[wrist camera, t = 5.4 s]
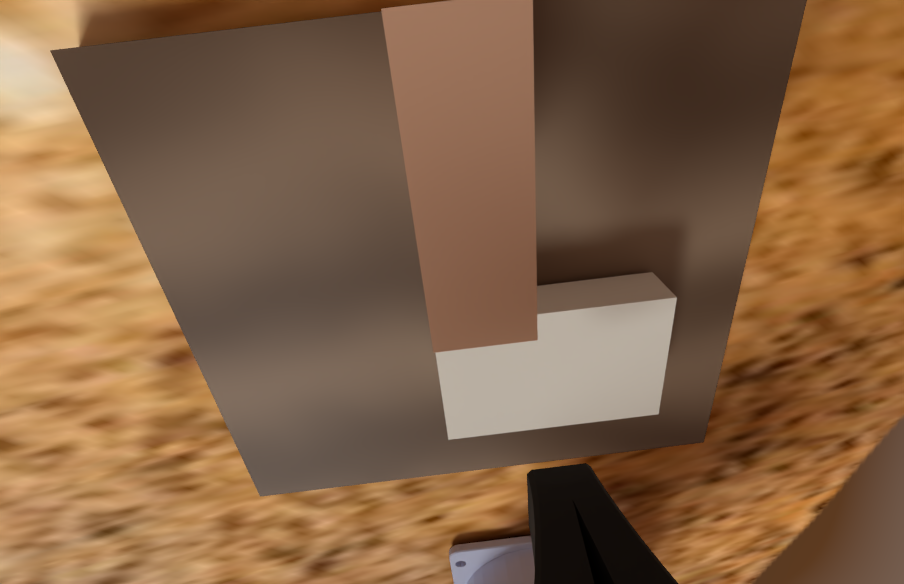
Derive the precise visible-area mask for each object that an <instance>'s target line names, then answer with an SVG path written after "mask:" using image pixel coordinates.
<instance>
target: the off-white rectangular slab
mask: <svg viewBox="0 0 904 584" xmlns="http://www.w3.org/2000/svg"><path fill="white" fill-rule="evenodd" d="M676 301H677V297H676V296H675V295H674V294H673V293H672V292H671V291H670V290H669V289H668V288H667V287H666V286H665V285H664V284H663V283H662V281H661V280H660V279H659V278H658V277H657V276H656V275H655V274H654V273H653V272H648V273H640V274H632V275H623V276H615V277H607V278H599V279H590V280H582V281H574V282H565V283H557V284H549V285H541V286H537V331H538V340H535V341H527V342H519V343H511V344H502V345H494V346H486V347H477V348H469V349H461V350H453V351H444V352H436V360H437V367H438V373H439V380H440V387H441V393H442V400H443V407H444V413H445V420H446V427H447V433H448V440H451V439H460V438H468V437H476V436H484V435H493V434H501V433H509V432H517V431H525V430H534V429H542V428H550V427H558V426H566V425H575V424H583V423H591V422H599V421H608V420H616V419H624V418H632V417H640V416H649V415H657V414H659V408H660V402H661V395H662V389H663V383H664V377H665V370H666V364H667V358H668V351H669V345H670V339H671V332H672V326H673V320H674V314H675V307H676Z"/></svg>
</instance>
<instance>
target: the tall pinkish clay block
mask: <svg viewBox="0 0 904 584" xmlns="http://www.w3.org/2000/svg"><path fill="white" fill-rule="evenodd" d="M381 12H382V18H383V25H384V32H385V38H386V45H387V51H388V58H389V64H390V71H391V78H392V84H393V91H394V97H395V104H396V110H397V117H398V124H399V130H400V137H401V143H402V150H403V156H404V163H405V170H406V176H407V183H408V189H409V196H410V202H411V209H412V215H413V222H414V229H415V235H416V242H417V248H418V255H419V261H420V268H421V275H422V281H423V288H424V294H425V301H426V307H427V314H428V321H429V327H430V334H431V340H432V347H433V353H436V352H444V351H453V350H461V349H469V348H477V347H486V346H494V345H502V344H511V343H519V342H527V341H535V340H538V331H537V259H536V188H535V117H534V45H533V0H450V1H441V2H433V3H424V4H416V5H407V6H399V7H390V8H382V9H381Z"/></svg>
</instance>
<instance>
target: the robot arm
mask: <svg viewBox="0 0 904 584" xmlns="http://www.w3.org/2000/svg"><path fill="white" fill-rule="evenodd" d="M527 485H528V514H529V528H530V534H531V536H523V537H515V538H507V539H498V540H490V541H482V542H474V543H466V544H458V545H454V546H453V547H451V548H450V550H449V559H450V564H451V570H452V576H453V581H454V584H678V583H677V581H676V580H675V579H674V578H673V577H672V576H671V574H670V573H669V572H668V571H667V570H666V568H665V567H664V566H663V565H662V564H661V562H660V561H659V560H658V559H657V557H656V556H655V555H654V554H653V552H652V551H651V550H650V549H649V547H648V546H647V545H646V544H645V542H644V541H643V540H642V539H641V537H640V536H639V535H638V533H637V532H636V531H635V530H634V528H633V527H632V526H631V524H630V523H629V522H628V520H627V519H626V518H625V516H624V515H623V513H622V512H621V511H620V509H619V508H618V507H617V505H616V504H615V502H614V501H613V500H612V498H611V497H610V495H609V494H608V492H607V491H606V490H605V488H604V487H603V485H602V484H601V482H600V481H599V479H598V478H597V476H596V474H595V473H594V471H593V470H592V468H591V466H589V465H588V464H586V463H585V464H577V465H568V466H560V467H552V468H544V469H536V470H531V471H530V472H529V473H528V474H527Z"/></svg>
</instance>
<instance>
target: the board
mask: <svg viewBox="0 0 904 584" xmlns="http://www.w3.org/2000/svg"><path fill="white" fill-rule="evenodd" d="M806 1H807V0H533V45H534V117H535V188H536V259H537V286H541V285H549V284H557V283H565V282H574V281H582V280H590V279H599V278H607V277H615V276H623V275H632V274H640V273H648V272H653V273H654V274H655V275H656V276H657V277H658V278H659V279H660V280H661V281H662V283H663V284H664V285H665V286H666V287H667V288H668V289H669V290H670V291H671V292H672V293H673V294H674V295H675V296H676V297H677V301H676V307H675V314H674V320H673V326H672V332H671V339H670V345H669V351H668V358H667V364H666V370H665V377H664V383H663V389H662V395H661V402H660V408H659V414H657V415H649V416H640V417H632V418H624V419H616V420H608V421H599V422H591V423H583V424H575V425H566V426H558V427H550V428H542V429H534V430H525V431H517V432H509V433H501V434H493V435H484V436H476V437H468V438H460V439H451V440H448V433H447V427H446V420H445V413H444V407H443V400H442V393H441V387H440V380H439V373H438V367H437V360H436V353H433V347H432V340H431V334H430V327H429V321H428V314H427V307H426V301H425V294H424V288H423V281H422V275H421V268H420V261H419V255H418V248H417V242H416V235H415V229H414V222H413V215H412V209H411V202H410V196H409V189H408V183H407V176H406V170H405V163H404V156H403V150H402V143H401V137H400V130H399V124H398V117H397V110H396V104H395V97H394V91H393V84H392V78H391V71H390V64H389V58H388V51H387V45H386V38H385V32H384V25H383V18H382V12H373V13H365V14H356V15H348V16H339V17H331V18H322V19H314V20H305V21H297V22H288V23H280V24H271V25H263V26H254V27H246V28H237V29H229V30H220V31H212V32H204V33H195V34H187V35H178V36H170V37H161V38H153V39H144V40H136V41H127V42H119V43H110V44H102V45H93V46H85V47H76V48H68V49H59V50H51V53H52V56H53V58H54V60H55V62H56V64H57V66H58V68H59V70H60V72H61V75H62V77H63V79H64V81H65V83H66V85H67V87H68V89H69V92H70V94H71V96H72V98H73V100H74V102H75V104H76V106H77V109H78V111H79V113H80V115H81V117H82V119H83V121H84V123H85V126H86V128H87V130H88V132H89V134H90V136H91V138H92V140H93V143H94V145H95V147H96V149H97V151H98V153H99V155H100V157H101V159H102V162H103V164H104V166H105V168H106V170H107V172H108V174H109V176H110V179H111V181H112V183H113V185H114V187H115V189H116V191H117V193H118V196H119V198H120V200H121V202H122V204H123V206H124V208H125V210H126V213H127V215H128V217H129V219H130V221H131V223H132V225H133V227H134V230H135V232H136V234H137V236H138V238H139V240H140V242H141V244H142V247H143V249H144V251H145V253H146V255H147V257H148V259H149V261H150V263H151V266H152V268H153V270H154V272H155V274H156V276H157V278H158V280H159V283H160V285H161V287H162V289H163V291H164V293H165V295H166V297H167V300H168V302H169V304H170V306H171V308H172V310H173V312H174V314H175V317H176V319H177V321H178V323H179V325H180V327H181V329H182V331H183V334H184V336H185V338H186V340H187V342H188V344H189V346H190V348H191V351H192V353H193V355H194V357H195V359H196V361H197V363H198V365H199V367H200V370H201V372H202V374H203V376H204V378H205V380H206V382H207V384H208V387H209V389H210V391H211V393H212V395H213V397H214V399H215V401H216V404H217V406H218V408H219V410H220V412H221V414H222V416H223V418H224V421H225V423H226V425H227V427H228V429H229V431H230V433H231V435H232V438H233V440H234V442H235V444H236V446H237V448H238V450H239V452H240V454H241V457H242V459H243V461H244V463H245V465H246V467H247V469H248V471H249V474H250V476H251V478H252V480H253V482H254V484H255V486H256V488H257V491H258V493H259V495H260V496H268V495H276V494H284V493H292V492H300V491H309V490H317V489H325V488H333V487H341V486H350V485H358V484H366V483H374V482H382V481H391V480H399V479H407V478H415V477H423V476H432V475H440V474H448V473H456V472H464V471H473V470H481V469H489V468H497V467H505V466H514V465H522V464H530V463H538V462H546V461H554V460H563V459H571V458H579V457H587V456H595V455H604V454H612V453H620V452H628V451H636V450H645V449H653V448H661V447H669V446H677V445H686V444H694V443H702V442H704V439H705V434H706V430H707V426H708V422H709V417H710V413H711V409H712V404H713V400H714V396H715V392H716V387H717V383H718V379H719V374H720V370H721V366H722V362H723V357H724V353H725V349H726V344H727V340H728V336H729V331H730V327H731V323H732V319H733V314H734V310H735V306H736V301H737V297H738V293H739V289H740V284H741V280H742V276H743V271H744V267H745V263H746V259H747V254H748V250H749V246H750V241H751V237H752V233H753V229H754V224H755V220H756V216H757V211H758V207H759V203H760V199H761V194H762V190H763V186H764V181H765V177H766V173H767V169H768V164H769V160H770V156H771V151H772V147H773V143H774V139H775V134H776V130H777V126H778V121H779V117H780V113H781V109H782V104H783V100H784V96H785V91H786V87H787V83H788V79H789V74H790V70H791V66H792V61H793V57H794V53H795V49H796V44H797V40H798V36H799V31H800V27H801V23H802V19H803V14H804V10H805V6H806Z"/></svg>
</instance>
